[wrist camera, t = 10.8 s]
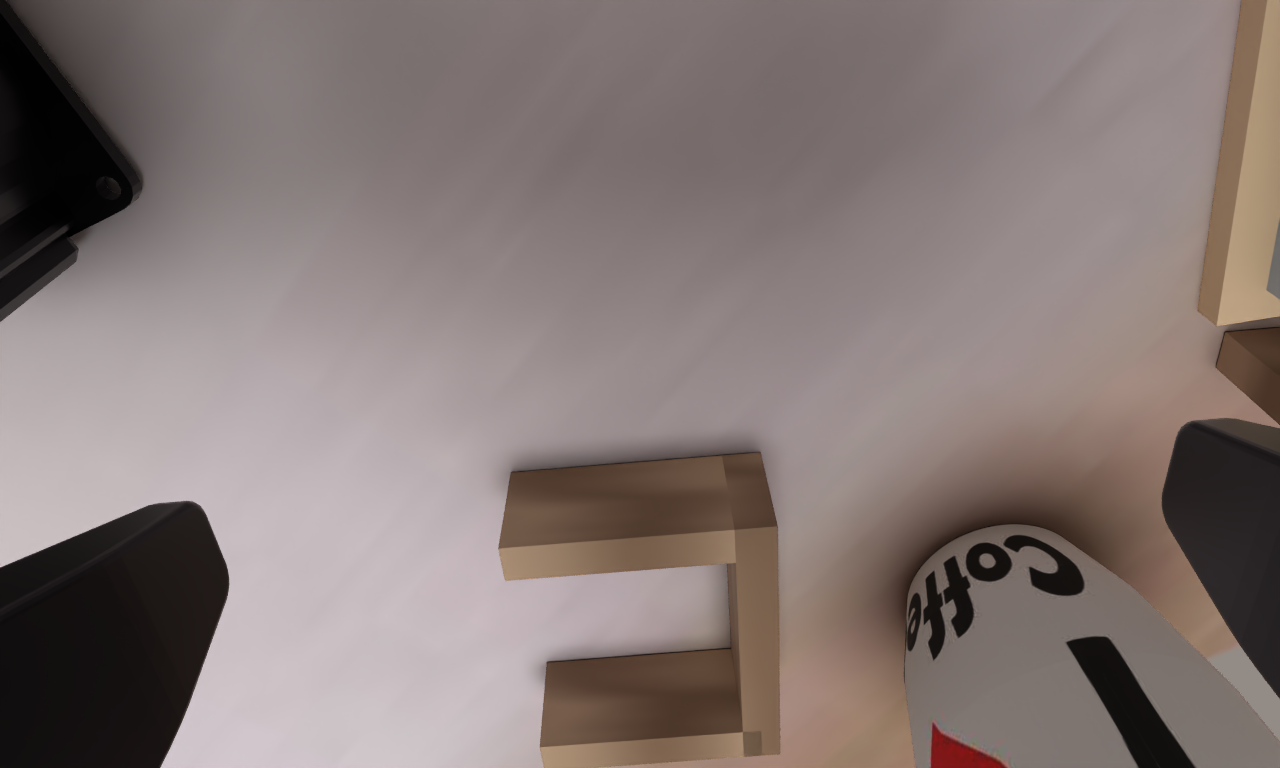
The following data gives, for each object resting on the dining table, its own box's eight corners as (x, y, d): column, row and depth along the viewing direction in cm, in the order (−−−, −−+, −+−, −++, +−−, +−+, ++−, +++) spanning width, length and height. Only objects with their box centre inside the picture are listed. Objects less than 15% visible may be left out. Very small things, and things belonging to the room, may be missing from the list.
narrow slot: (551, 685, 28) (544, 771, 26) (510, 472, 24) (498, 548, 22) (765, 669, 28) (780, 753, 26) (760, 452, 24) (777, 526, 22)
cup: (1049, 426, 24) (1291, 758, 15) (1189, 598, 27) (1455, 952, 19) (798, 589, 27) (884, 949, 18) (951, 728, 30) (1088, 1091, 21)
